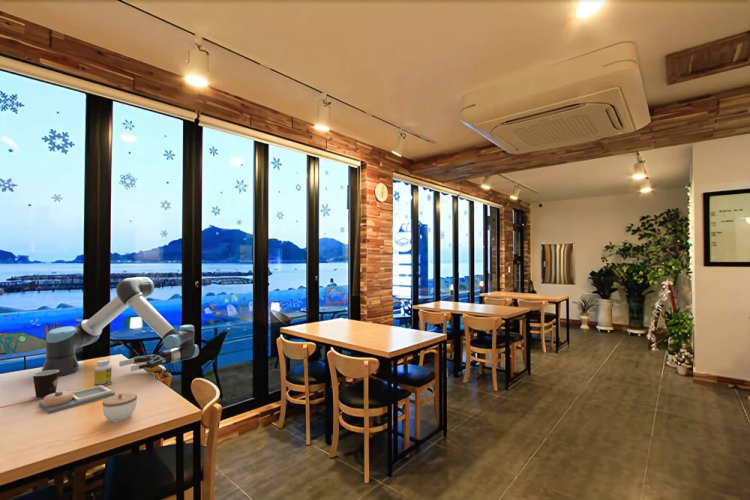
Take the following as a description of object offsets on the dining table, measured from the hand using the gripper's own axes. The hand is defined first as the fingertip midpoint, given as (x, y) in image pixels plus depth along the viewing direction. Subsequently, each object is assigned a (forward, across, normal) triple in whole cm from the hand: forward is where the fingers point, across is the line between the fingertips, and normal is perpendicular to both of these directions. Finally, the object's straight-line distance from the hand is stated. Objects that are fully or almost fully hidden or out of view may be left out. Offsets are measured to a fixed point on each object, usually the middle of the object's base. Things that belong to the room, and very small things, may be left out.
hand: (125, 366), depth 177 cm
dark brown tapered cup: (+27, +6, -7) cm, 29 cm away
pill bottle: (+9, 0, -7) cm, 11 cm away
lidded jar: (+19, -48, -7) cm, 52 cm away
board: (+22, -13, -6) cm, 26 cm away
